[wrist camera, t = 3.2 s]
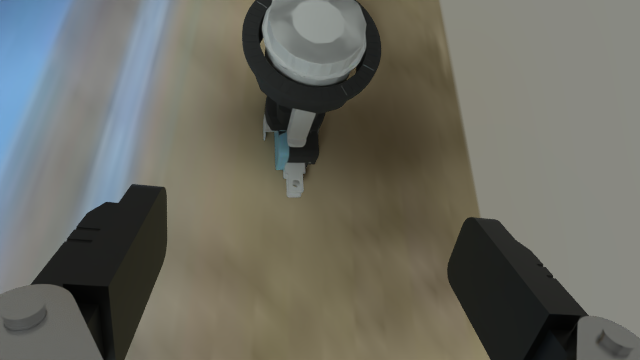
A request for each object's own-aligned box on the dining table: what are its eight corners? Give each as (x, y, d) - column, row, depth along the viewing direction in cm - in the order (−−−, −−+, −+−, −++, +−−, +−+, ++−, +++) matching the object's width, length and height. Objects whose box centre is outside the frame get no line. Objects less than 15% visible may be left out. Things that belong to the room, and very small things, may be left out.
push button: (337, 198, 23) (402, 125, 14) (243, 200, 22) (243, 122, 13) (329, 95, 25) (381, -32, 16) (242, 92, 24) (241, -46, 15)
